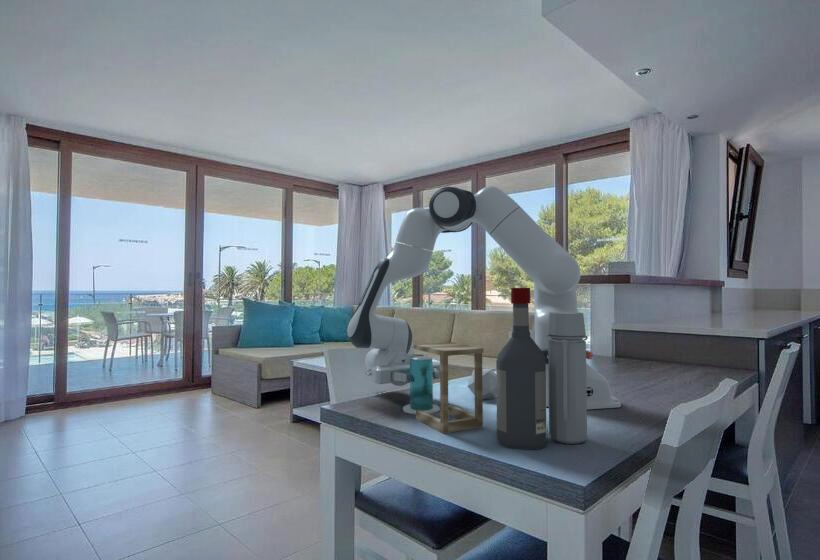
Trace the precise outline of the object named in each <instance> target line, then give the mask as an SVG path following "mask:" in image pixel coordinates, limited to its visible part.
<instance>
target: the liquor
mask: <svg viewBox="0 0 820 560" xmlns="http://www.w3.org/2000/svg"><path fill="white" fill-rule="evenodd" d="M510 304H512V331H511V337H510V338H509V339H508V341H507V342H506V343H505V345H504V346H503V347H502V348H501V350H500V352H499V353H498V355H497V357H496V358H497V359H496V362H495V364H496V365H495V366H496V371H495V372H496V373H495V374H496V378H497V396H496V440H497V442H498V444H499V445H501V446H504V447H506V448H508V449H521V450H531V451H535V450H539V449H544V448H545V447H546V445H547V406H546V361H545V356H544V353H543V352H542V351H541V349H540V348H539V347H538V346H537V344H536V343H535V340H534V339H533V338H532V337H531V332H530V324H529V323H530V319H529V318H530V315H529V308H530V307H529V305H530V304H531V287H511V288H510Z"/></svg>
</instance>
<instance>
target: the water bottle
mask: <svg viewBox="0 0 820 560" xmlns="http://www.w3.org/2000/svg"><path fill="white" fill-rule="evenodd" d="M585 324H586V323H585V316H584V313H583V312H579V311H578V312H549V316H548V328H547V334H548V335H546V338H547V339H548V378H549V407H548V434H549V436H550V437H551V439H552V440H553V441H555V442H558V443H562V444H566V445H577V444H581V443H584V442H585V441H586V440H587V439H588V415H587V414H588V410H587V387H586V363H587V358H586V351H587V342H586V341H587V340H588V338H589V337H588V335H586V334H587V333H586V327H585ZM548 337H550V338H551V339H550V338H548Z"/></svg>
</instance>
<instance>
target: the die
mask: <svg viewBox="0 0 820 560" xmlns="http://www.w3.org/2000/svg"><path fill="white" fill-rule="evenodd" d="M470 376H471V377H470V379H469V382H468V384H467V388H469V390H470V392H471V393H472V394H473V395H474V396H475V368H474V369H473V370H472V373H471V375H470ZM482 391H483V400H493V399H495V400H496V399H497V378H496V373H495V371H494V370H493V369H492V368H482Z"/></svg>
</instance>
